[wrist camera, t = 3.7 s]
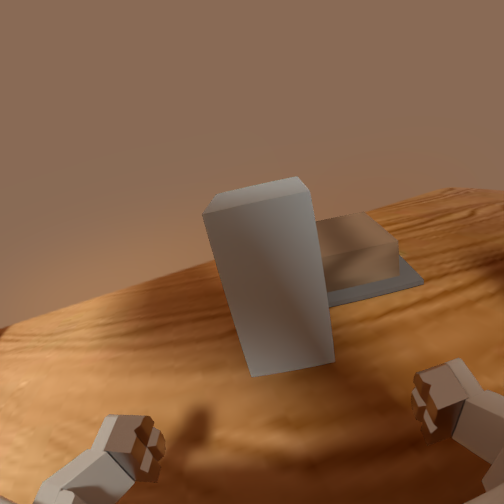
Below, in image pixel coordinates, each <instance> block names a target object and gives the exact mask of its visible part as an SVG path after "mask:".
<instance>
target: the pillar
mask: <svg viewBox="0 0 504 504" xmlns="http://www.w3.org/2000/svg"><path fill="white" fill-rule="evenodd" d="M202 216H203V220H204V223H205V227H206V230H207V234H208V238H209V241H210V245H211V248H212V251H213V255H214V258H215V262H216V265H217V269H218V272H219V275H220V279H221V282H222V285H223V289H224V292H225V295H226V298H227V302H228V305H229V308H230V311H231V315H232V318H233V321H234V324H235V327H236V331H237V334H238V337H239V340H240V343H241V346H242V350H243V353H244V356H245V359H246V362H247V365H248V368H249V371H250V374H251V377H257V376H264V375H270V374H276V373H282V372H288V371H293V370H298V369H304V368H309V367H314V366H319V365H323V364H328V363H333V362H335V354H334V345H333V337H332V328H331V321H330V313H329V305H328V298H327V291H326V284H325V277H324V271H323V264H322V258H321V252H320V246H319V240H318V234H317V228H316V222H315V217H314V211H313V206H312V200H311V195H310V191H309V189H308V188H307V187H306V186H305V185H304V184H303V182H302V181H301V180H300V179H299V178H298V177H291V178H287V179H282V180H277V181H272V182H268V183H263V184H259V185H254V186H250V187H245V188H241V189H236V190H232V191H228V192H224V193H219V194H216V195H215V197H214V198H213V200H212V201H211V202H210V204H209V205H208V207H207V208H206V209H205V211H204V212H203V214H202Z"/></svg>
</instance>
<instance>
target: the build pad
mask: <svg viewBox="0 0 504 504" xmlns="http://www.w3.org/2000/svg"><path fill="white" fill-rule="evenodd" d="M399 270H400V276H396V277H392V278H388V279H384V280H380V281H376V282H372V283H367V284H363V285H359V286H355V287H350V288H346V289H341V290H337V291H332V292H328V293H327V298H328V305H329V307H333V306H337V305H342V304H346V303H350V302H355V301H359V300H363V299H367V298H371V297H376V296H380V295H384V294H388V293H392V292H395V291H399V290H403V289H407V288H411V287H414V286H418V285H422V284H423V283H424V279H423V278H422V277H421V276H420V275H419V274H418V273H417V272H416V271H415V270H414V269H413V268H412V267H411V266H410V265H409V264H408V263H407V262H406V261H405V260H404V259H403V258H402V257H401V256H400V255H399Z"/></svg>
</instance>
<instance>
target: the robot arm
mask: <svg viewBox="0 0 504 504" xmlns="http://www.w3.org/2000/svg"><path fill="white" fill-rule="evenodd" d="M413 383H414V385H415V389H414V390H413V391H412V394H411V405H412V410H413V413H414V416H415V418H416V420H418V421H420V422H422V426H421V432H422V434H423V437H424V439H425V441H426V444H427V446H428V445H431V444H434V443H437V442H439V441H442V440H445V439H448V438H450V437H452V439H454V440H455V441H457V442H458V443H460V444H461V445H463V446H464V447H466V448H467V449H469V450H470V451H472V452H473V453H475V454H476V455H478V456H479V457H481V458H482V459H484V460H485V461H487V462H488V463H490V464H491V467H490V468H489V470H488V471H487V473H486V474H485V475H484V477H483V479H482V483H483V485H484V488H485V490H486V493H484V494H482V495H480V496H478V497H476V498H474V499H472V500H470V501H468V502H465V503H463V504H504V396H502V395H499V394H497V393H495V392H492V391H490V390H486V391H484V390H483V389H482V387H481V386H480V384H479V383H478V382H477V380H476V379H475V377H474V376H473V374H472V373H471V372H470V370H469V369H468V367H467V366H466V365H465V363H464V362H463V360H462V359H460V358H457V359H454V360H451V361H449V362H446V363H442V364H440V365H437V366H434V367H431V368H429V369H426V370H423V371H420V372H417V373H415V375H414V379H413ZM153 426H154V421H153V420H152V418H151V417H150V416H139V415H112V414H109V415H107V416H106V417H105V419H104V421H103V423H102V425H101V427H100V430H99V432H98V434H97V436H96V438H95V441H94V443H93V445H92V447H91V449H87V450H85V451H84V452H83V453H81V454H80V455H79V456H77V457H76V458H75V459H73V460H72V461H71V462H69V463H68V464H67V465H65V466H64V467H63V468H61V469H60V470H59V471H57V472H56V473H55V474H53V475H52V476H50V477H49V478H48V479H46V480H45V481H44V482H43V483H42V485H41V487H40V489H39V491H38V493H37V495H36V498H35V500H34V502H33V504H116V503H117V502H118V500H119V499H120V498H121V497H122V496H123V495H124V494H125V493H126V492H127V491H128V490H129V489H130V488H131V486H132V485H133V484H134V483H135V481H139V482H154V483H157V481H158V478H159V474H160V470H161V466H160V464H159V462H158V461H159V460H161V459H162V458H163V457H164V454H165V450H166V447H165V439H164V436H163V434H162V433H161V431H160V430H158V429H156V428H155V427H153ZM0 504H17V503H15V502H13V501H11V500H9V499H7V498H5V497H3V496H1V495H0Z"/></svg>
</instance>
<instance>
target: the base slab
mask: <svg viewBox="0 0 504 504" xmlns="http://www.w3.org/2000/svg"><path fill="white" fill-rule="evenodd" d="M316 228H317V234H318V240H319V246H320V252H321V258H322V264H323V271H324V277H325V284H326V291H327V293H328V292H332V291H337V290H341V289H346V288H350V287H355V286H359V285H363V284H367V283H372V282H376V281H380V280H384V279H388V278H392V277H396V276H400V270H399V249H398V240H397V239H395V238H394V237H393V236H392V235H391V234H390V233H388V232H387V231H386V230H385V229H384V228H383V227H381V226H380V225H379V224H378V223H377V222H376V221H374V220H373V219H372V218H371V217H370V216H368V215H367V214H366V213H365V212H360V213H355V214H350V215H345V216H340V217H335V218H331V219H326V220H321V221H316Z"/></svg>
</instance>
